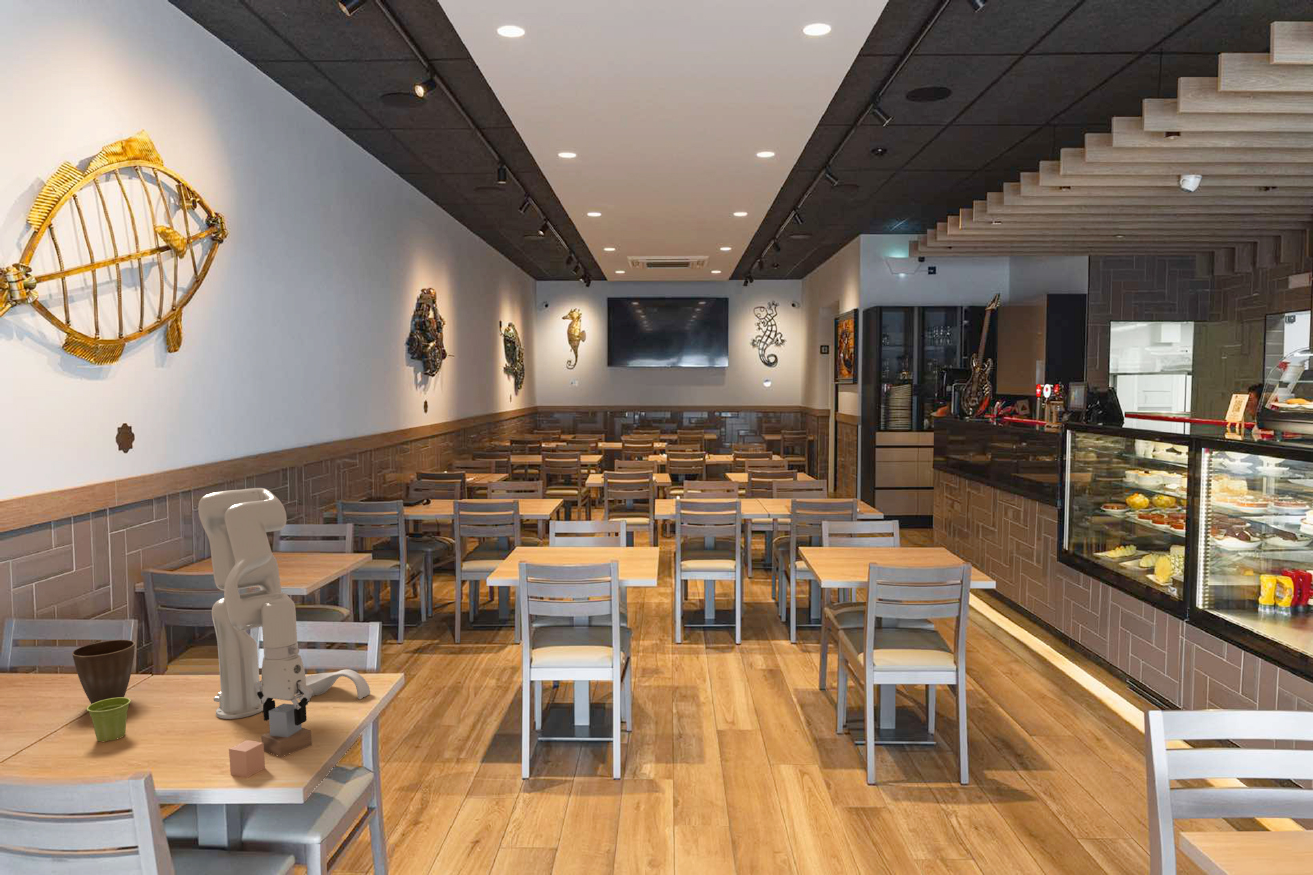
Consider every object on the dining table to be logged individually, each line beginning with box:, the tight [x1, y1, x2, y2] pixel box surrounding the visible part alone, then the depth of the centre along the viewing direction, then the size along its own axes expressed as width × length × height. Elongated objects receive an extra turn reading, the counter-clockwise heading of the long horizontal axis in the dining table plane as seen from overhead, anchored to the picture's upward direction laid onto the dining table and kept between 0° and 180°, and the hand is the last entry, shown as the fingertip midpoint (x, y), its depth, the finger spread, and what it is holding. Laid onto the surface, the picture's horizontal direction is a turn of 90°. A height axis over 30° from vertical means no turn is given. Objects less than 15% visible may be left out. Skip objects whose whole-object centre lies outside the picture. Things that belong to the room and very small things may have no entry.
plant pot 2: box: [86, 696, 132, 742], centre depth 218 cm, size 9×9×9 cm
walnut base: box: [260, 727, 313, 758], centre depth 208 cm, size 8×8×4 cm
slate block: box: [268, 703, 303, 737], centre depth 208 cm, size 5×5×6 cm
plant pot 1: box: [71, 639, 136, 705], centre depth 243 cm, size 15×15×16 cm
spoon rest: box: [305, 668, 371, 700], centre depth 245 cm, size 24×12×7 cm, turn 72°
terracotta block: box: [228, 739, 266, 779], centre depth 195 cm, size 5×5×6 cm
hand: (285, 720), depth 208 cm, fingers open, 9 cm apart
